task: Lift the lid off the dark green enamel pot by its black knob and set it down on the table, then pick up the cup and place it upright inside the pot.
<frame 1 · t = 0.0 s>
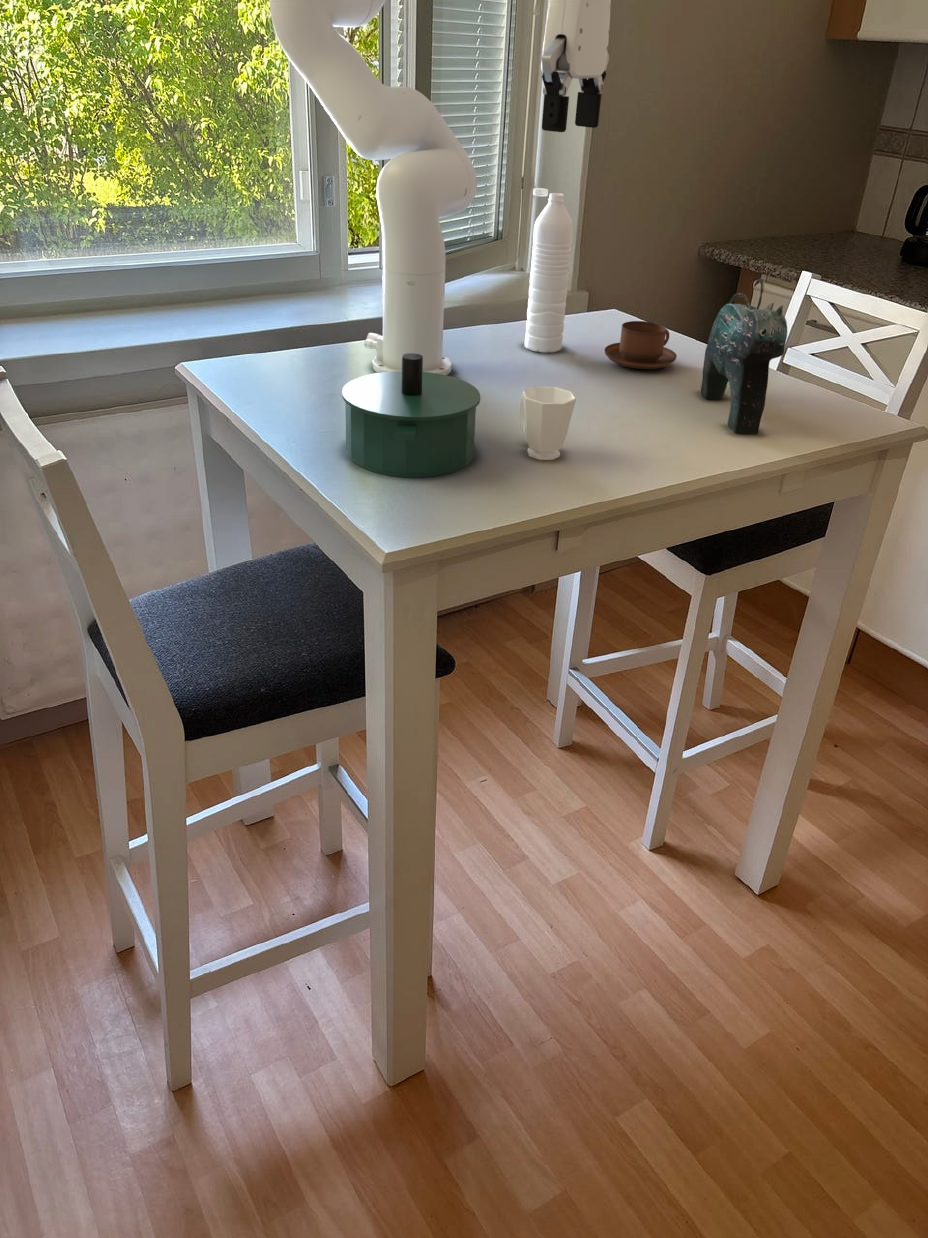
hand: (570, 128, 128), 37 cm above the table, tool pointing down, fingers open, 9 cm apart
ceramic cat: (725, 415, 146), on the table
pot: (410, 451, 127), on the table
water bottle: (538, 347, 171), on the table
cup: (537, 451, 130), on the table
cup and saucer: (638, 364, 165), on the table
pot lid: (411, 396, 124), point 7 cm above the table, touching pot
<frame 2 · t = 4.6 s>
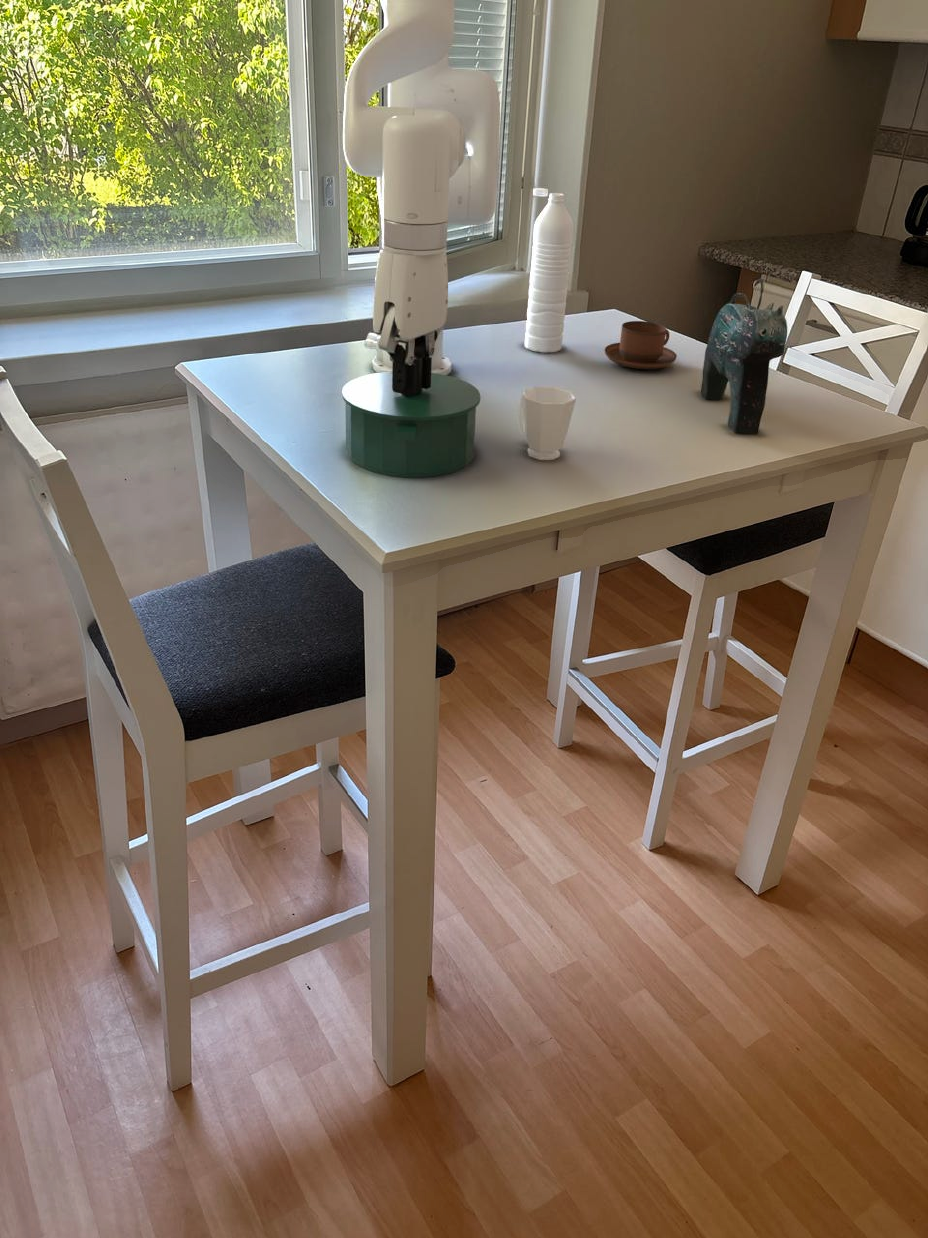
hand: (411, 388, 123), 8 cm above the table, tool pointing down, fingers closed on pot lid, 2 cm apart
pot lid: (411, 396, 124), point 8 cm above the table, touching gripper, pot
everything else where it was.
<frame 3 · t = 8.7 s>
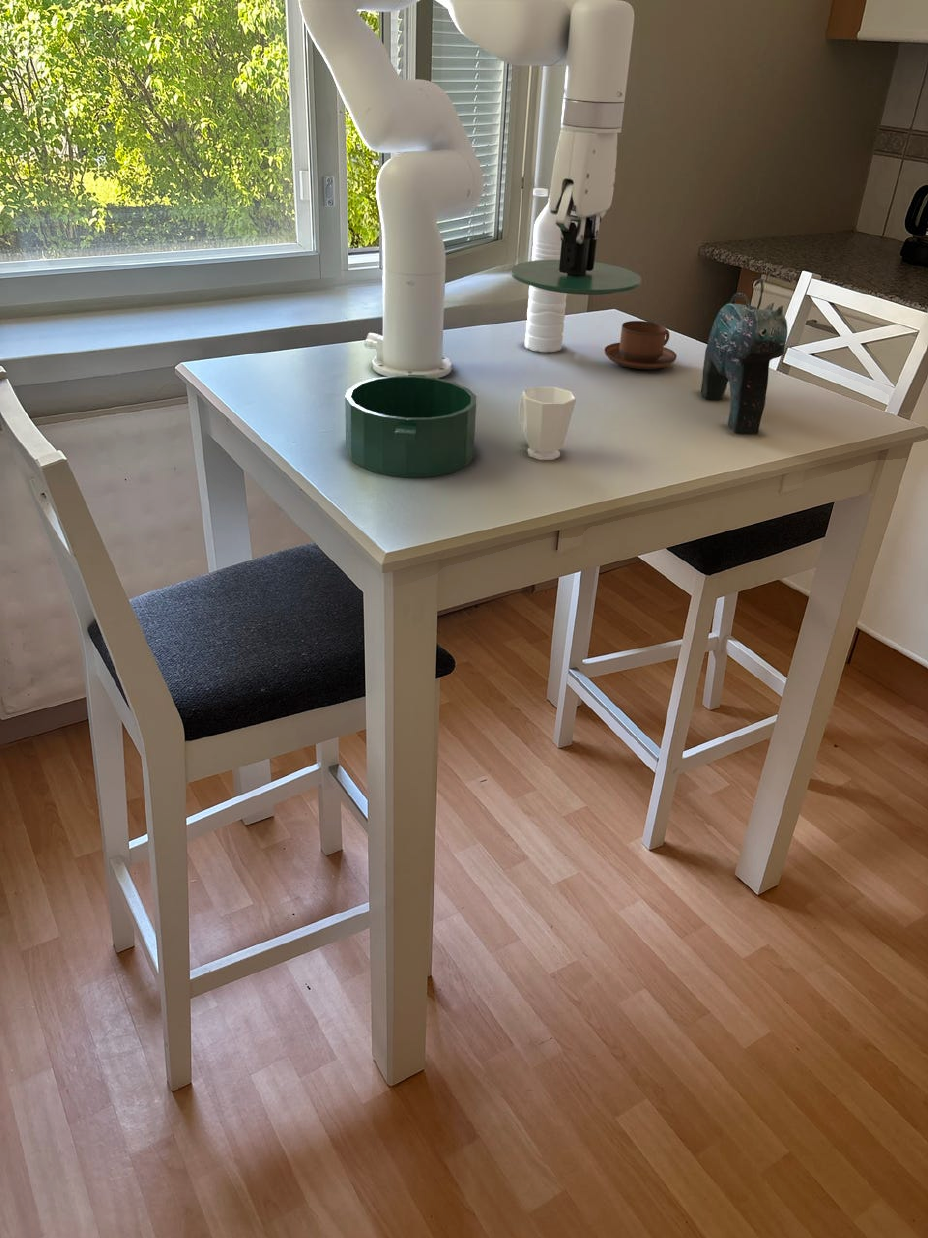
hand: (576, 269, 131), 21 cm above the table, tool pointing down, fingers closed on pot lid, 2 cm apart
pot lid: (575, 277, 131), point 20 cm above the table, touching gripper
everything else where it was.
when the fingers open (2 cm above the table, at t = 13.1 s): pot lid stays where it is, point 1 cm above the table.
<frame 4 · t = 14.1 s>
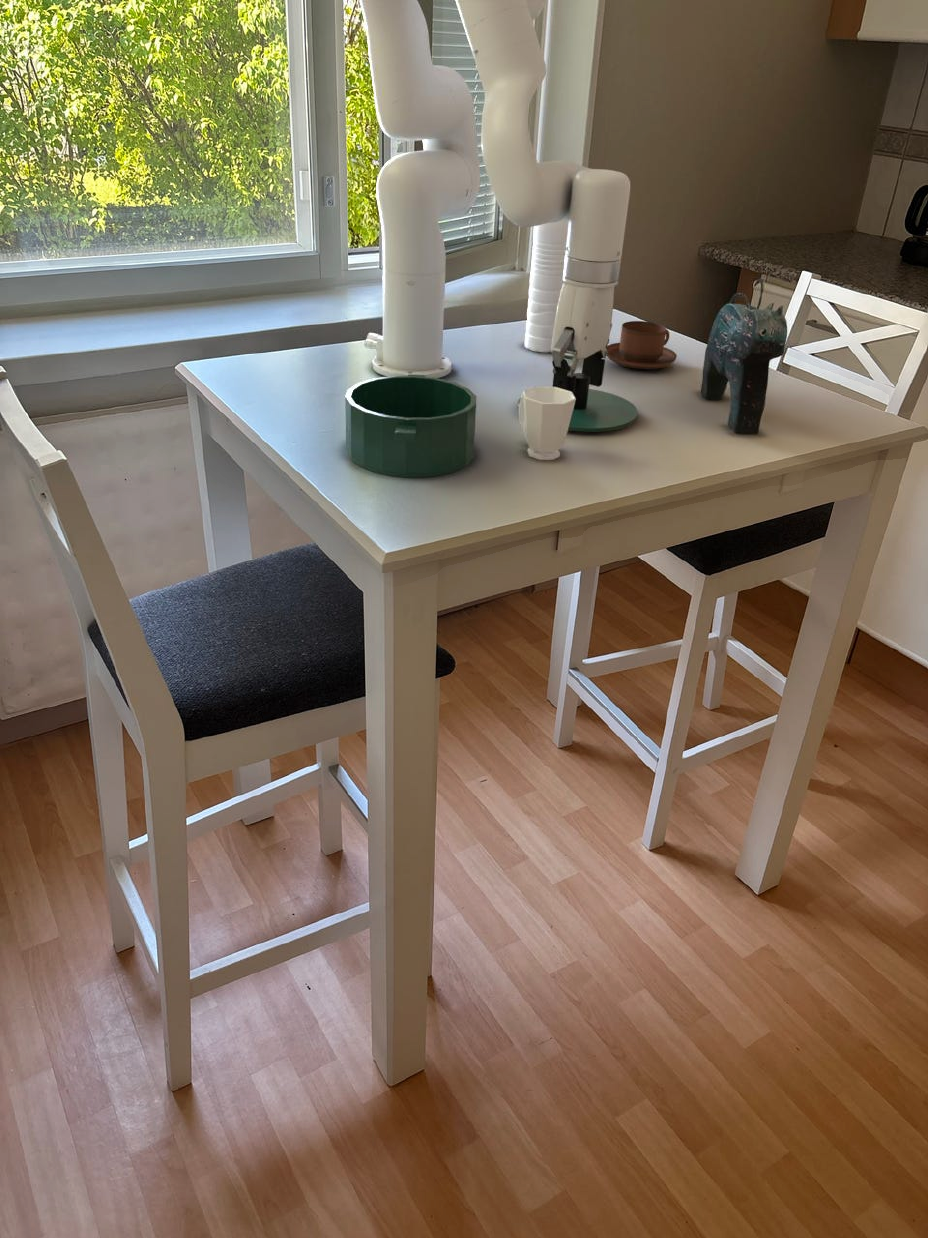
hand: (576, 392, 141), 3 cm above the table, tool pointing down, fingers open, 9 cm apart
pot lid: (577, 409, 143), point 1 cm above the table
everything else where it was.
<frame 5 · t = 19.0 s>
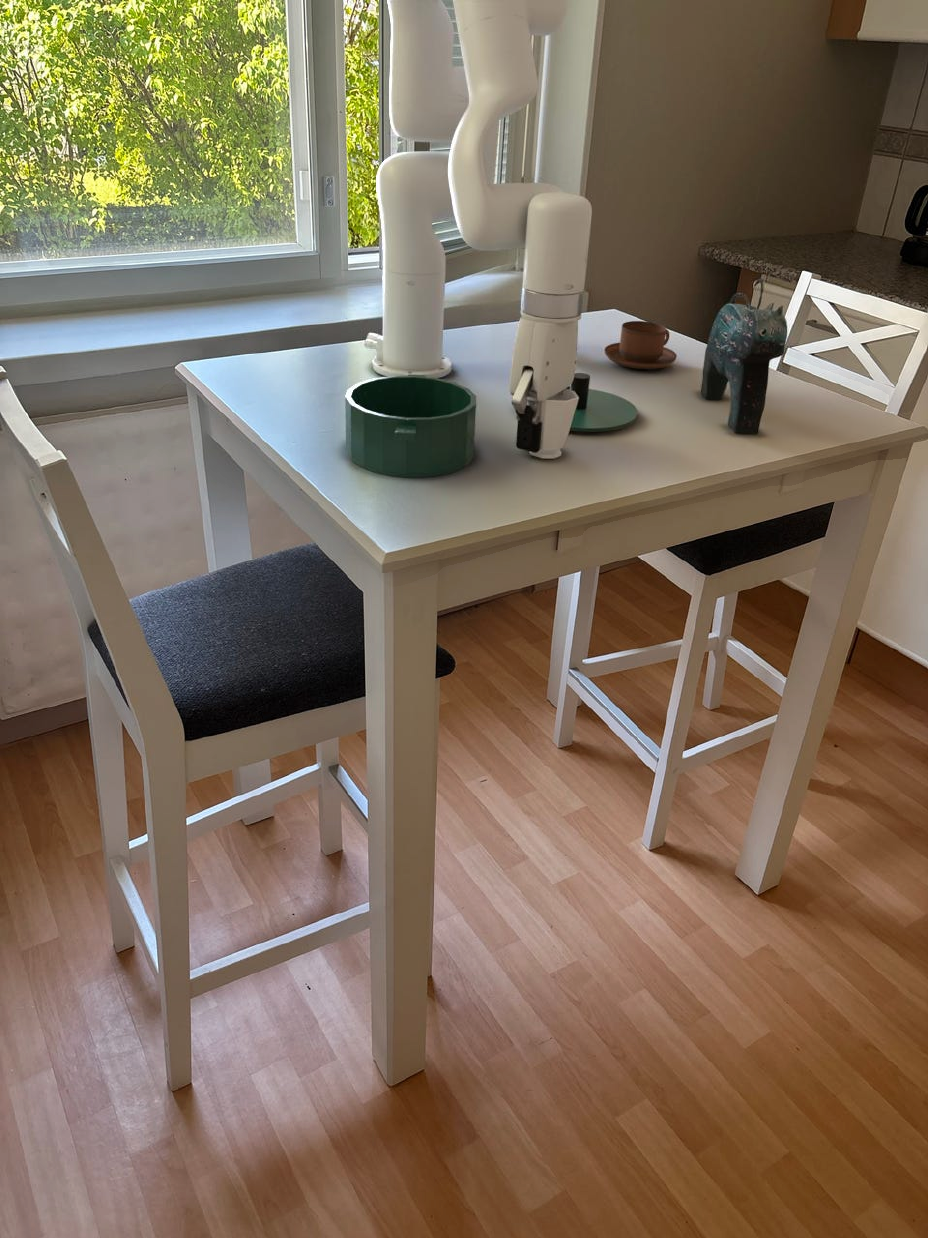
hand: (539, 441, 129), 1 cm above the table, tool pointing down, fingers closed on cup, 5 cm apart
cup: (538, 450, 130), on the table, touching gripper
everything else where it was.
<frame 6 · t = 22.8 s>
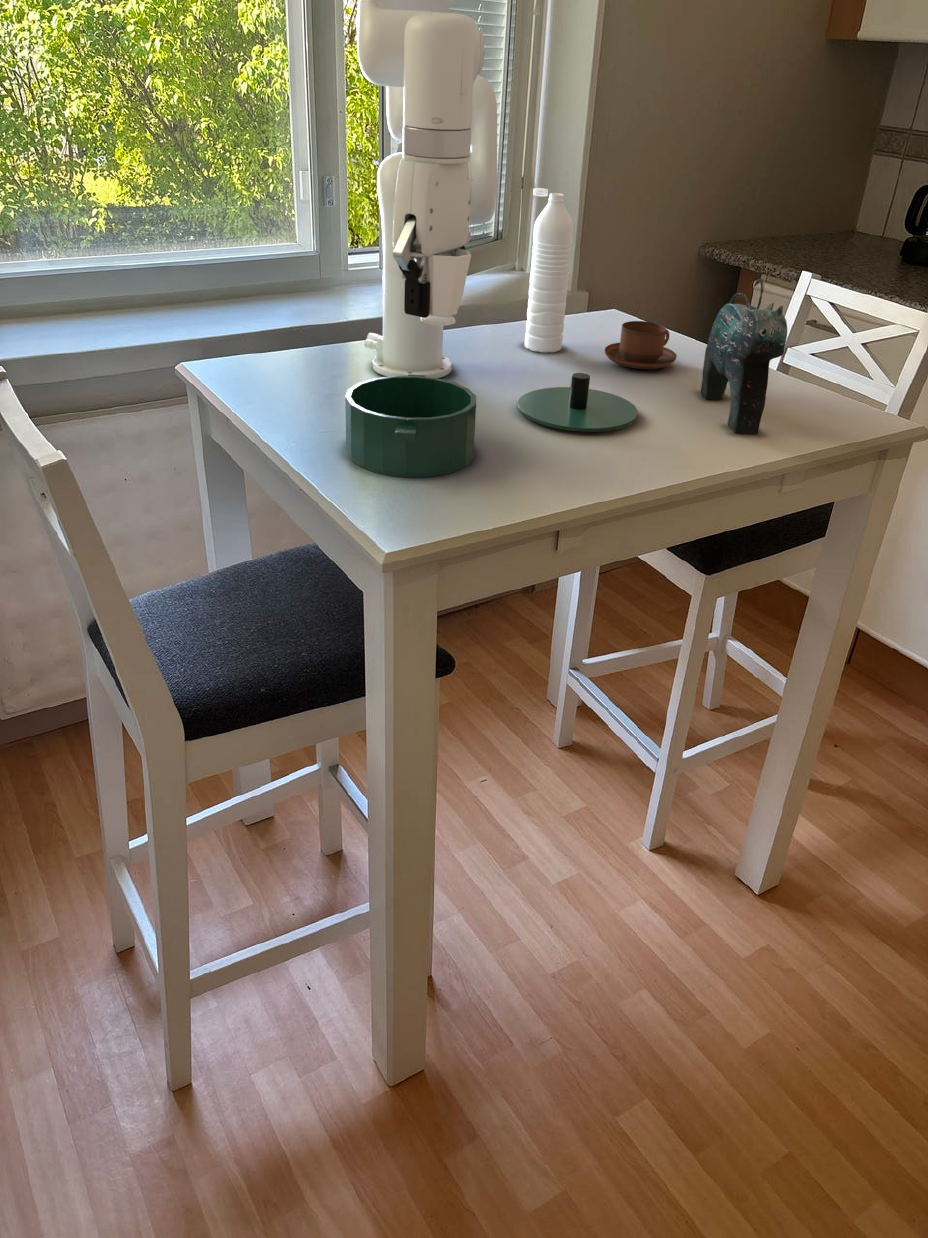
hand: (431, 308, 118), 18 cm above the table, tool pointing down, fingers closed on cup, 5 cm apart
cup: (431, 319, 119), point 17 cm above the table, touching gripper
everything else where it was.
when the fingers open (2 cm above the table, at t = 27.1 s): cup stays where it is, resting on pot.
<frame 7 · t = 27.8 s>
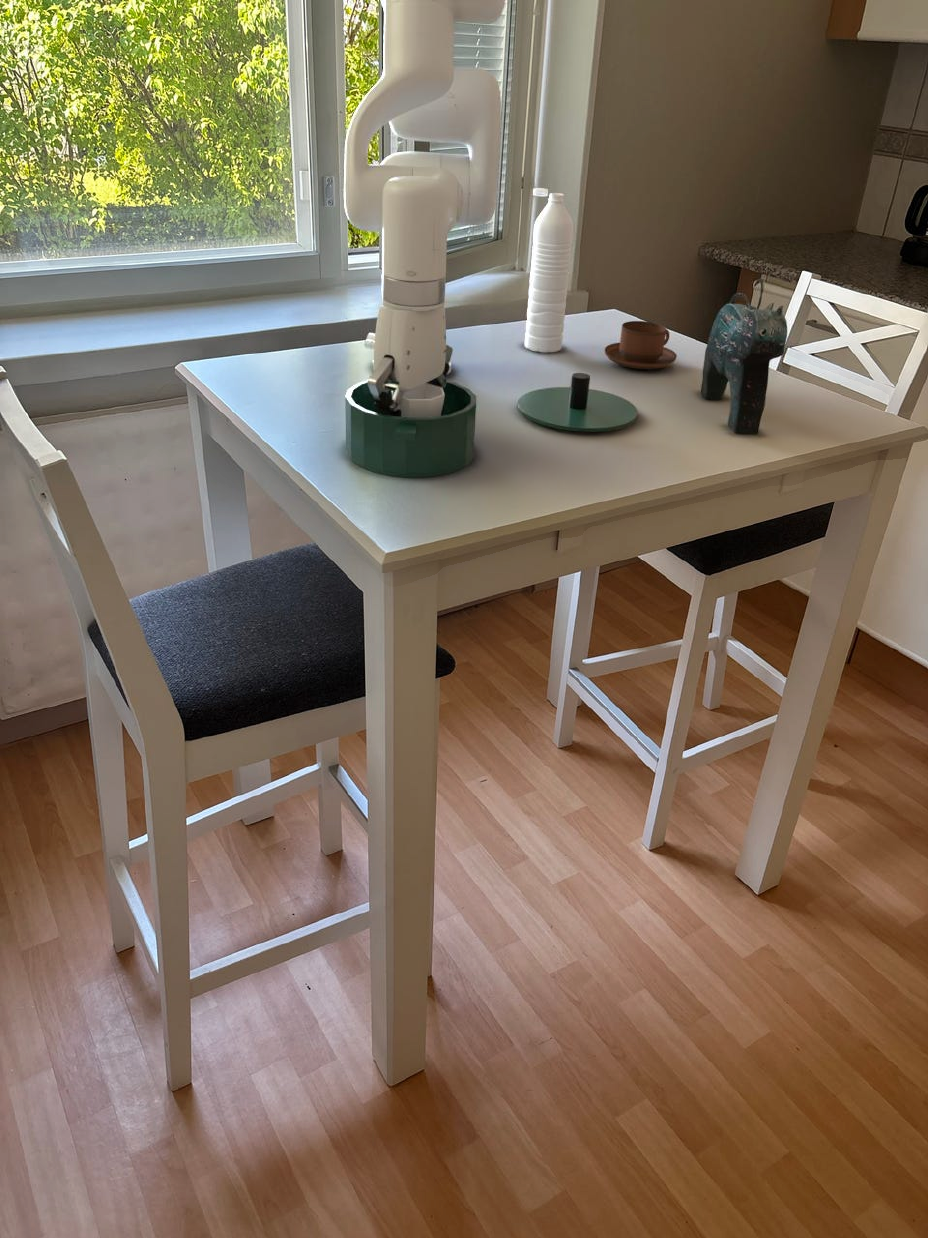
hand: (410, 426, 126), 3 cm above the table, tool pointing down, fingers open, 9 cm apart
cup: (411, 448, 128), resting on pot
everything else where it was.
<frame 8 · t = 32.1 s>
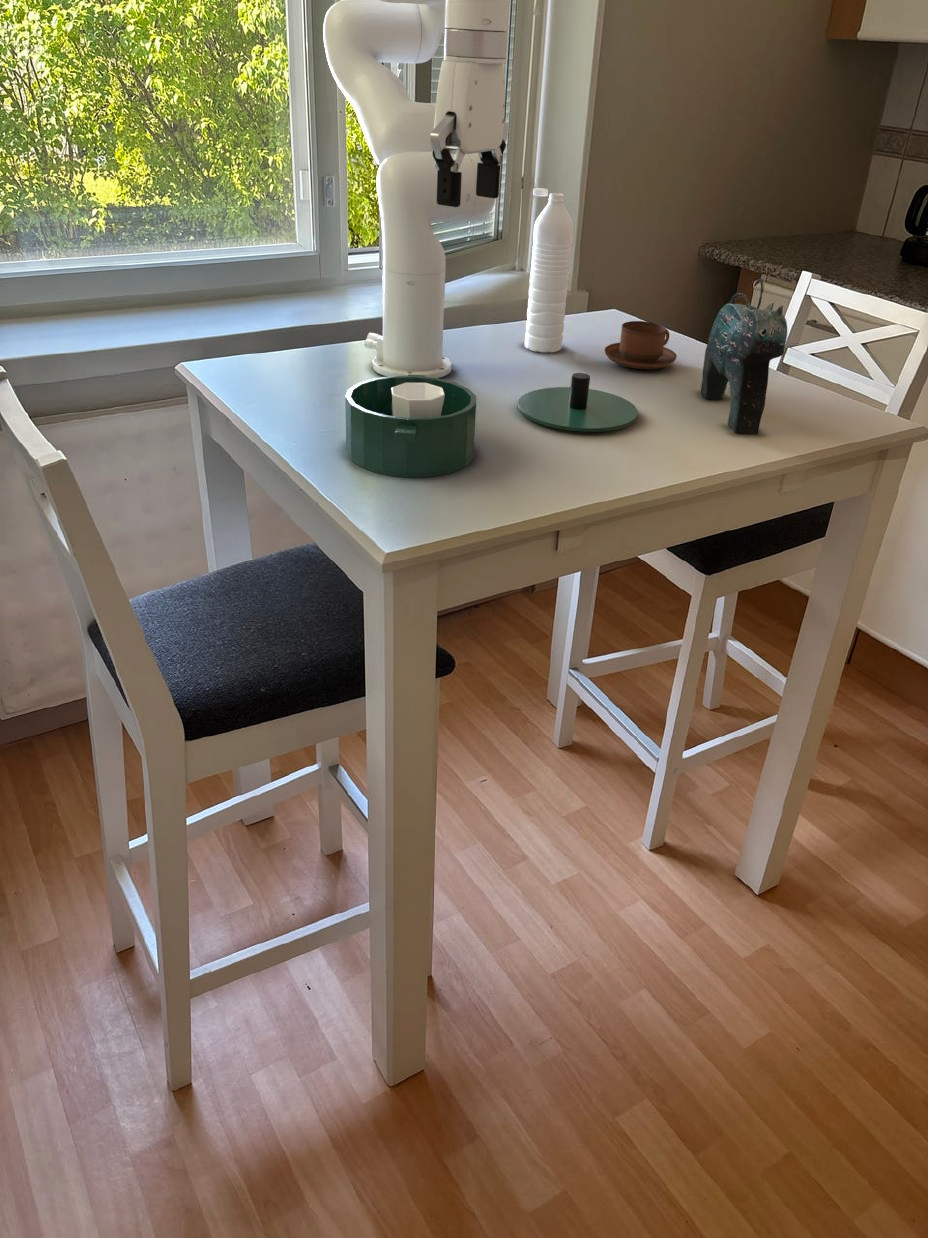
hand: (468, 200, 126), 28 cm above the table, tool pointing down, fingers open, 9 cm apart
nothing on the table moved.
at the end: pot lid inside the target area (0.2 cm from its centre), point 0.6 cm above the table; cup inside the target area in the pot (0.3 cm from its centre), point 0.3 cm above the pot's base; cup tilted 0° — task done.
